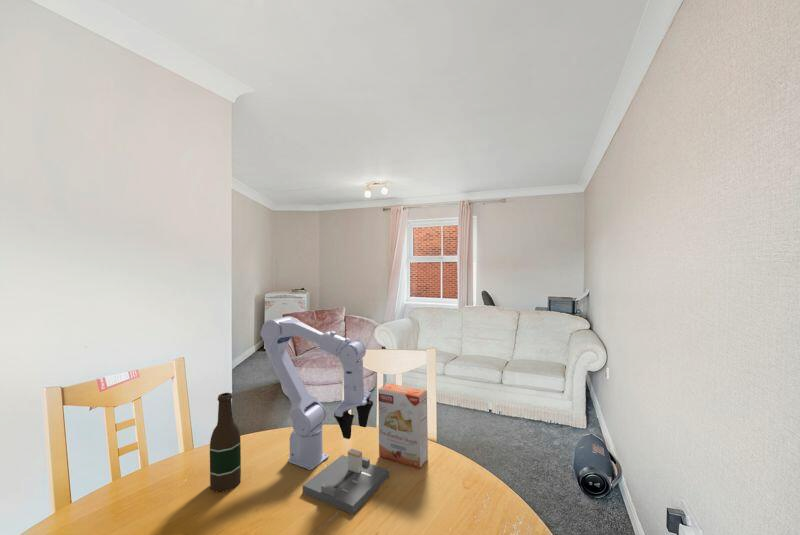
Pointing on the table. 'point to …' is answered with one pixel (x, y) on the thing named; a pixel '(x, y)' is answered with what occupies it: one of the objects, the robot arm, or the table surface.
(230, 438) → the beer bottle
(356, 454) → the fader tab
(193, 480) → the table surface
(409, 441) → the cracker box
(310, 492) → the console
